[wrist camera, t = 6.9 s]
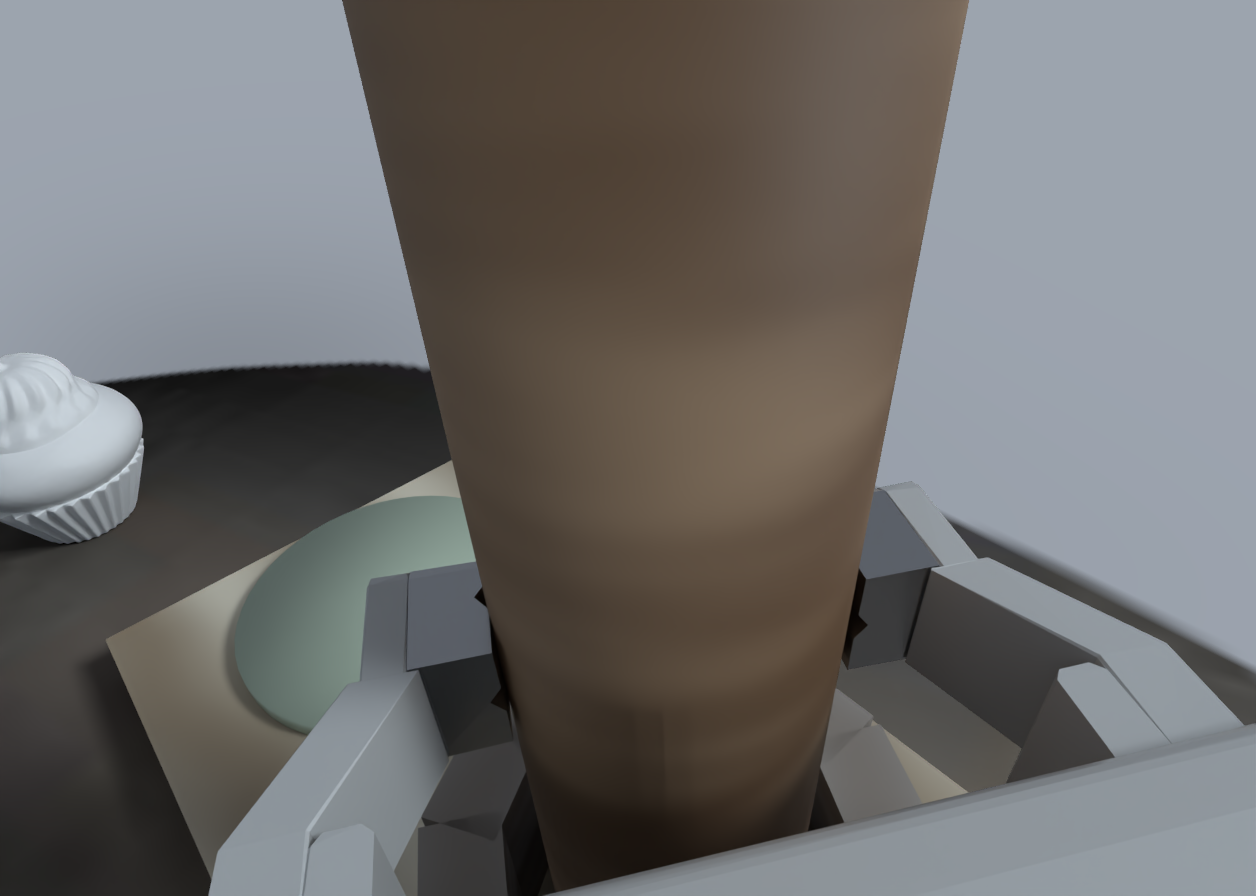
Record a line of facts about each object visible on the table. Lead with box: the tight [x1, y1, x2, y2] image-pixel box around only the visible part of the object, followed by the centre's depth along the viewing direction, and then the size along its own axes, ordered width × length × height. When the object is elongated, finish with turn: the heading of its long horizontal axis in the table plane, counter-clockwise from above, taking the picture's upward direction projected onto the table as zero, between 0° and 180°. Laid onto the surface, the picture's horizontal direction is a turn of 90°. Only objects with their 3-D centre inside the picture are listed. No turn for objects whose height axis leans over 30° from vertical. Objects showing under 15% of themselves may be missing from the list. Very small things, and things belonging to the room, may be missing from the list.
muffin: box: [0, 353, 144, 544], centre depth 28 cm, size 6×6×7 cm
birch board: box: [106, 460, 968, 896], centre depth 19 cm, size 14×22×6 cm, turn 42°
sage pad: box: [234, 496, 476, 735], centre depth 23 cm, size 9×9×1 cm
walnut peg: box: [342, 0, 969, 893], centre depth 11 cm, size 4×4×18 cm
